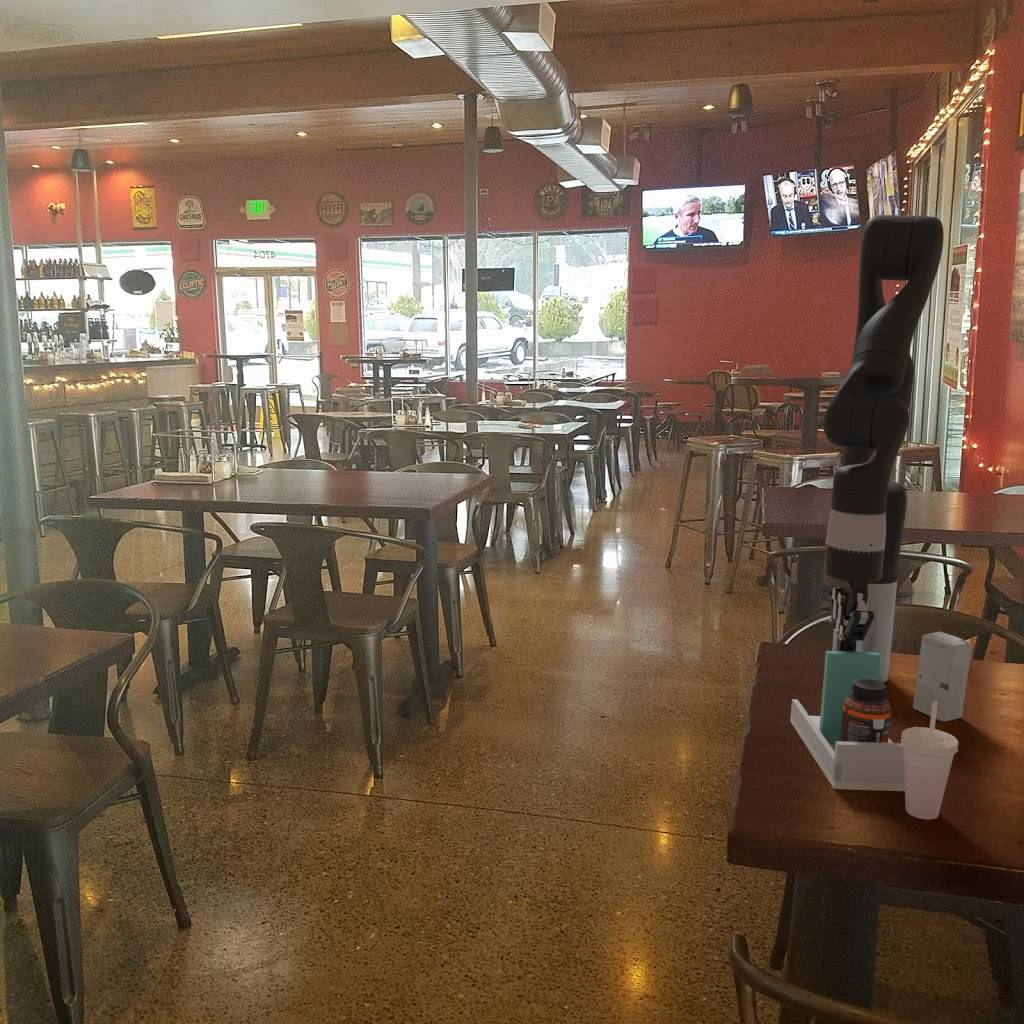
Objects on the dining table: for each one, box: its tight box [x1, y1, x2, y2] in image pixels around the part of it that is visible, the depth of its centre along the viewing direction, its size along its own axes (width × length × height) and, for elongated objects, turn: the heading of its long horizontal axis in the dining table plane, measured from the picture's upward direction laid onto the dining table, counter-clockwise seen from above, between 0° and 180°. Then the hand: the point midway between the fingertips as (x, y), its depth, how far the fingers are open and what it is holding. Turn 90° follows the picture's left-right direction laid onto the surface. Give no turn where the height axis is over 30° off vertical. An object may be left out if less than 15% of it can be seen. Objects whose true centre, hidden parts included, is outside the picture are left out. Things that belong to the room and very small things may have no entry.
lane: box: [790, 698, 905, 792], centre depth 136 cm, size 22×10×6 cm, turn 179°
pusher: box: [819, 650, 881, 745], centre depth 136 cm, size 1×7×13 cm, turn 89°
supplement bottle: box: [840, 679, 892, 743], centre depth 130 cm, size 6×6×11 cm
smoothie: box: [900, 701, 959, 821], centre depth 119 cm, size 6×6×14 cm
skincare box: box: [912, 631, 973, 722], centre depth 151 cm, size 6×4×12 cm
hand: (844, 664), depth 138 cm, fingers closed
